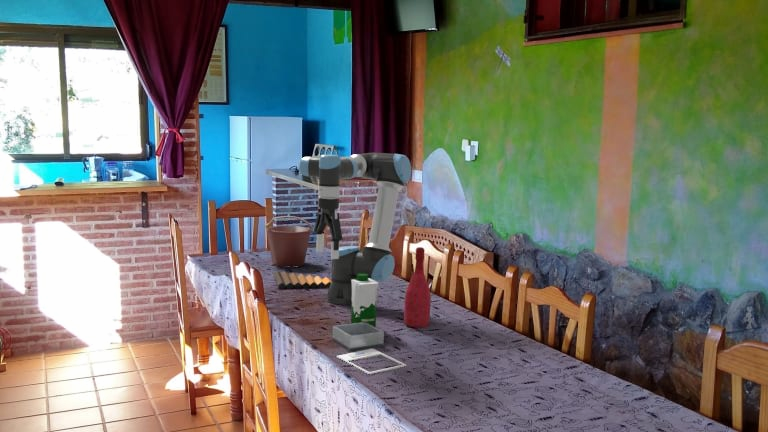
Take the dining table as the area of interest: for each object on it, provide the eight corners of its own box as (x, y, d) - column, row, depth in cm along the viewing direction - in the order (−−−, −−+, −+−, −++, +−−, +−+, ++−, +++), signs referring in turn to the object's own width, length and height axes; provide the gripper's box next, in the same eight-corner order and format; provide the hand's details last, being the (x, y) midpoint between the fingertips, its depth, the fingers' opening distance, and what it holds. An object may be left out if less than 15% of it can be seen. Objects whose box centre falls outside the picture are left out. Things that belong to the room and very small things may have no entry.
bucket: (259, 266, 358) (260, 217, 355) (273, 258, 380) (274, 212, 376) (305, 269, 354) (307, 220, 351) (317, 261, 376) (318, 215, 372)
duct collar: (364, 335, 252) (365, 321, 252) (383, 346, 241) (384, 332, 241) (332, 340, 246) (332, 326, 245) (349, 351, 235) (350, 336, 234)
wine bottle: (433, 323, 270) (437, 247, 266) (423, 330, 262) (427, 251, 257) (409, 319, 274) (413, 244, 270) (399, 326, 266) (403, 248, 261)
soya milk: (368, 323, 267) (370, 272, 264) (379, 330, 259) (381, 277, 256) (347, 326, 263) (349, 273, 260) (357, 333, 255) (359, 279, 252)
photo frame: (372, 347, 237) (406, 364, 223) (372, 351, 237) (406, 367, 223) (336, 355, 228) (368, 372, 214) (336, 358, 229) (368, 376, 214)
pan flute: (273, 277, 338) (277, 290, 314) (273, 270, 338) (278, 282, 314) (324, 276, 344) (333, 288, 320) (324, 269, 344) (333, 281, 320)
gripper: (306, 193, 263) (304, 249, 267) (333, 202, 242) (331, 262, 245) (324, 193, 267) (323, 248, 270) (353, 201, 245) (351, 261, 248)
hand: (327, 255), depth 257 cm, fingers open, 13 cm apart
